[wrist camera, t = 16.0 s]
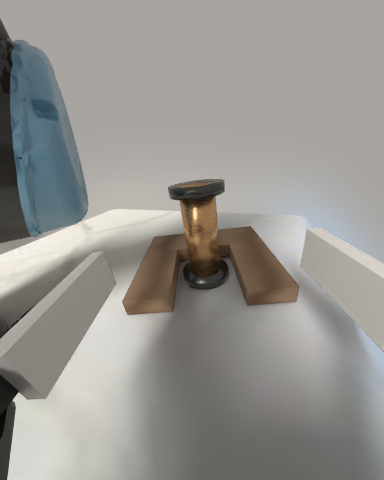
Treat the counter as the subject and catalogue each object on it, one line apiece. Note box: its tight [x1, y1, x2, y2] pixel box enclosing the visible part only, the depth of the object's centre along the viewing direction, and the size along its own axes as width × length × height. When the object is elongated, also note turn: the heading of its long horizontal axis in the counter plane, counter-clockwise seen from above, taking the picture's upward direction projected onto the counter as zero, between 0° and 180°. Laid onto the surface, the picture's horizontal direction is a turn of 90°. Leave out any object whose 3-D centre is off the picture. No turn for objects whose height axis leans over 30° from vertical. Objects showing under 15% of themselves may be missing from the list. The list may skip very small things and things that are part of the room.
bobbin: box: [168, 179, 228, 289], centre depth 21 cm, size 6×6×12 cm
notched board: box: [122, 226, 299, 315], centre depth 25 cm, size 18×16×2 cm
